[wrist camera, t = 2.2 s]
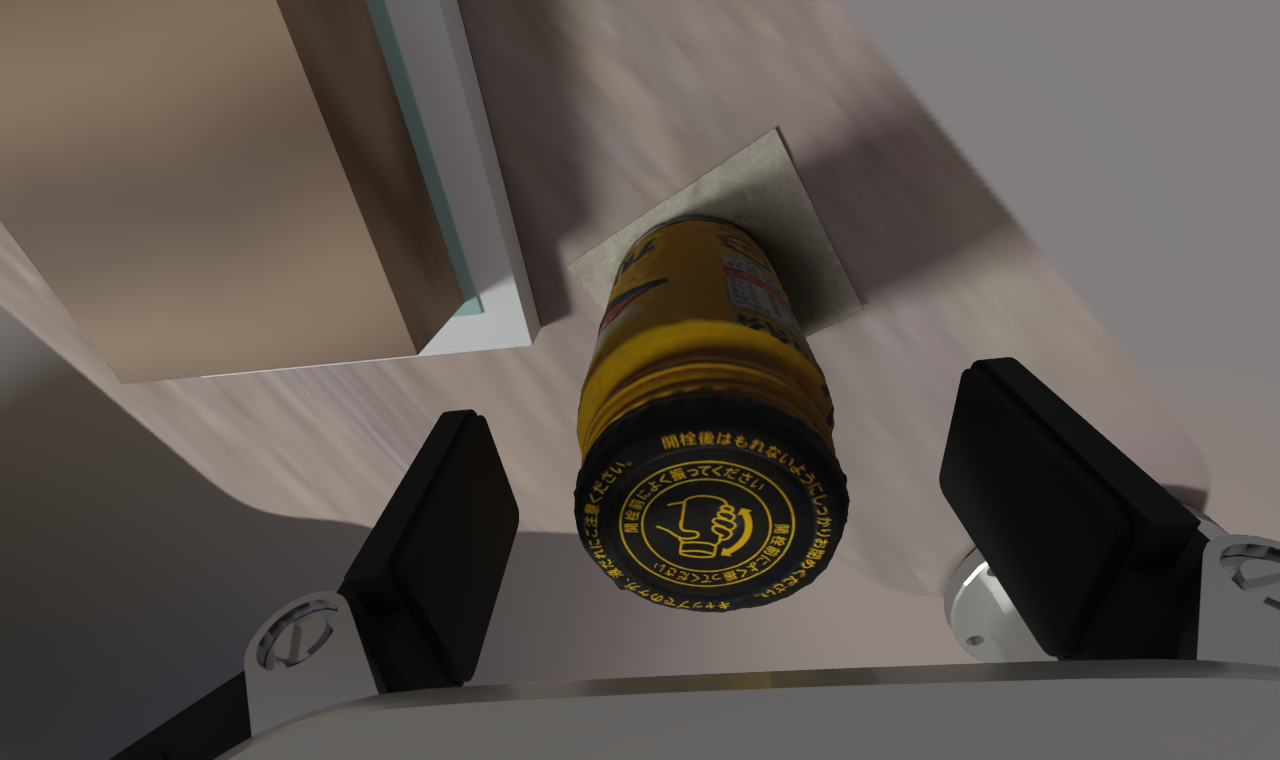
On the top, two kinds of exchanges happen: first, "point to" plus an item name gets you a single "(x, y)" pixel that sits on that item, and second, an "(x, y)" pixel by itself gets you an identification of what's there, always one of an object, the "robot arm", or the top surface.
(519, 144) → the top surface
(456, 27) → the build board
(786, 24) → the top surface
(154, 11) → the base block
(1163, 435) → the top surface
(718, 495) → the condiment
